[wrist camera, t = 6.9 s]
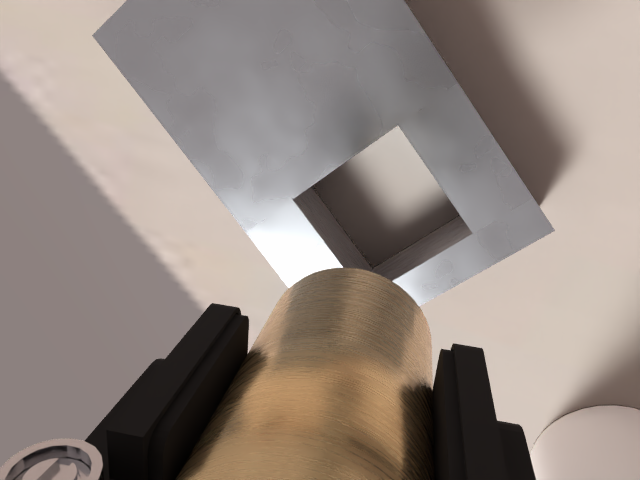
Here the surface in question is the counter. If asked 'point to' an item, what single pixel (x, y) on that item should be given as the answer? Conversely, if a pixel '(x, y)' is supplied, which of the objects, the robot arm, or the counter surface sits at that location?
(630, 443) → the cylindrical container
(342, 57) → the jig plate
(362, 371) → the tan cylindrical peg
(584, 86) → the counter surface
